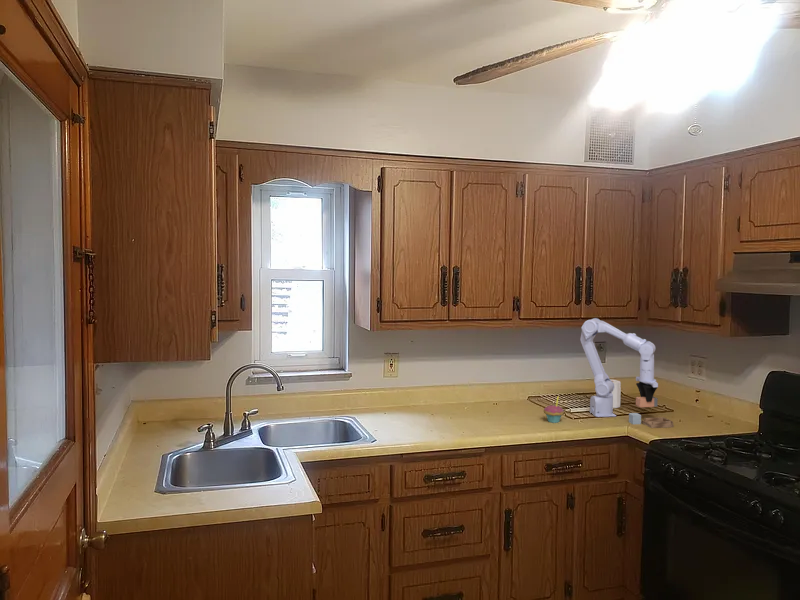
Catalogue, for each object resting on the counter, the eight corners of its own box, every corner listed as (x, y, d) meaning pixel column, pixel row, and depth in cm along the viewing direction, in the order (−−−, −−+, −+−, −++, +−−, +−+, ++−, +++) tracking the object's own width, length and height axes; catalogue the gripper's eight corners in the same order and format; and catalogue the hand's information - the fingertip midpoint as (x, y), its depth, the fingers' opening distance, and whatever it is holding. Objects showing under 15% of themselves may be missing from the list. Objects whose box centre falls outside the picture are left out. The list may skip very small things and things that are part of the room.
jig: (651, 428, 247) (651, 422, 247) (641, 422, 255) (641, 417, 255) (673, 427, 248) (673, 422, 248) (663, 422, 256) (663, 417, 256)
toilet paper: (597, 407, 282) (598, 382, 282) (598, 402, 292) (598, 378, 291) (620, 409, 279) (620, 383, 278) (620, 404, 289) (620, 379, 288)
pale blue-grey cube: (632, 424, 253) (633, 415, 253) (628, 422, 257) (629, 413, 256) (640, 424, 253) (641, 415, 253) (636, 421, 257) (636, 412, 257)
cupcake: (563, 419, 261) (564, 392, 260) (563, 424, 253) (564, 397, 252) (543, 418, 263) (544, 391, 262) (543, 423, 255) (543, 395, 254)
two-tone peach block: (640, 407, 256) (640, 399, 256) (635, 405, 260) (635, 397, 259) (657, 406, 257) (657, 398, 257) (652, 404, 261) (653, 396, 260)
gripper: (664, 372, 250) (664, 403, 251) (646, 366, 265) (646, 396, 266) (649, 372, 250) (648, 404, 250) (631, 366, 264) (631, 396, 265)
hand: (646, 400), depth 258 cm, fingers closed on two-tone peach block, 4 cm apart
